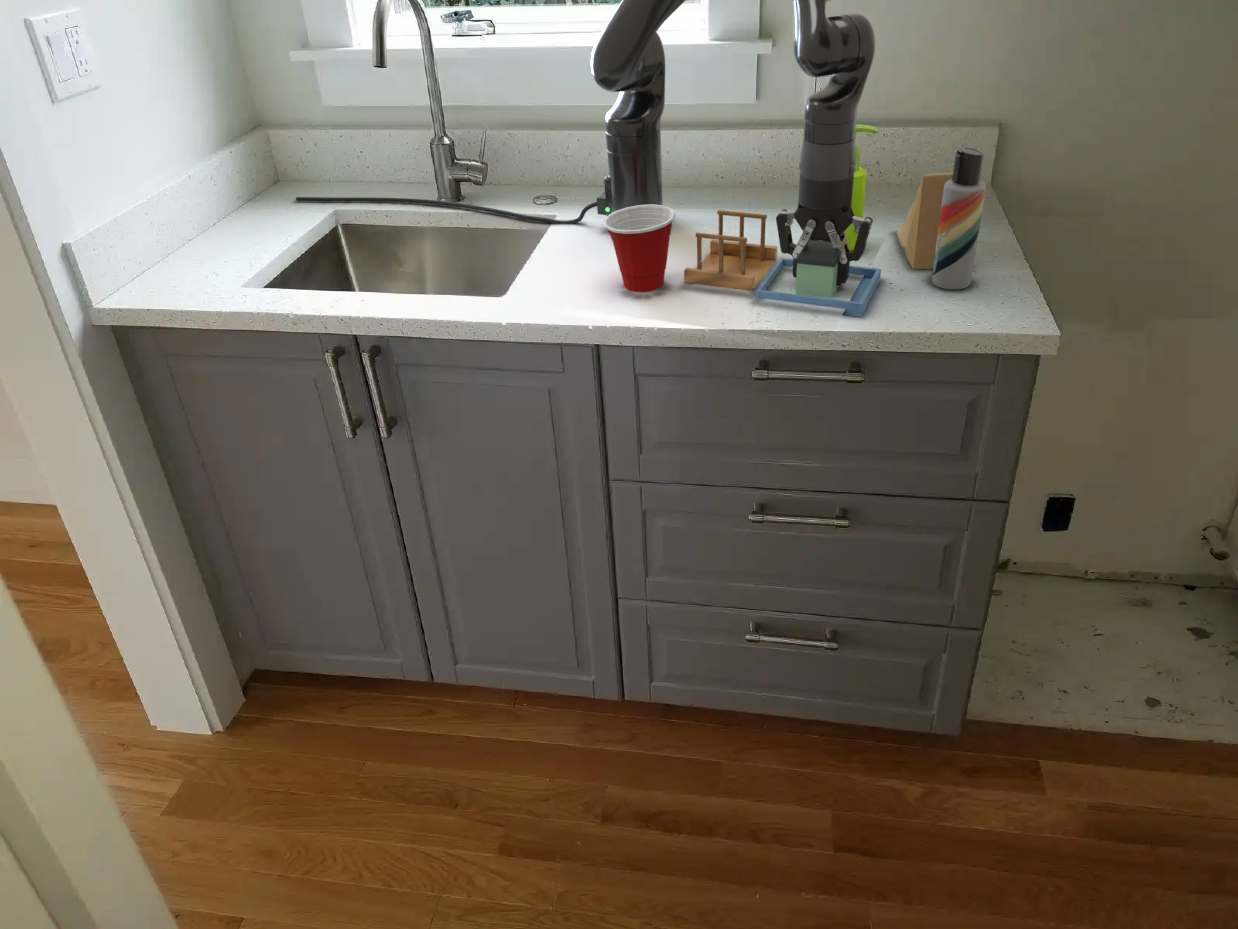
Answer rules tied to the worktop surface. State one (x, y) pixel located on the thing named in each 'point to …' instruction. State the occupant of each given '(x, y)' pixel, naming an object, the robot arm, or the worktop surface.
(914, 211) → the sandwich container
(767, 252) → the dish rack
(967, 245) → the lotion bottle
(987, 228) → the worktop surface
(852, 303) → the tray
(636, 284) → the plastic cup
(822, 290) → the tub
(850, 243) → the soap dispenser
